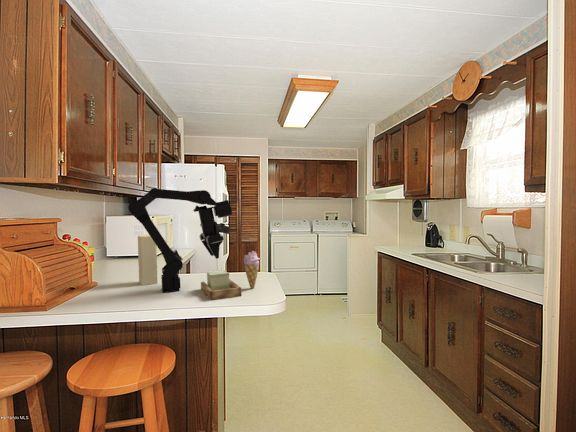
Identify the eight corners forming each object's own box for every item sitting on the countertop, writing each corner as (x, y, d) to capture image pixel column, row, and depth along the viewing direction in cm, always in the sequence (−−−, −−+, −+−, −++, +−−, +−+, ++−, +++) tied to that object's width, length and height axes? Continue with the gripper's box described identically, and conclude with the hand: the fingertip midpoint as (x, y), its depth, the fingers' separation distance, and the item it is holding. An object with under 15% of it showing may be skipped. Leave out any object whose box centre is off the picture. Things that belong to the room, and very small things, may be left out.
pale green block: (211, 290, 133) (210, 275, 133) (207, 286, 140) (206, 271, 140) (229, 288, 136) (229, 273, 136) (225, 284, 143) (224, 270, 142)
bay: (210, 300, 124) (210, 291, 124) (201, 289, 141) (200, 281, 141) (241, 295, 129) (241, 287, 129) (228, 285, 145) (228, 278, 145)
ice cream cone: (263, 287, 142) (262, 250, 141) (257, 290, 136) (256, 252, 135) (248, 286, 144) (247, 249, 143) (241, 289, 138) (240, 252, 137)
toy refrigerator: (159, 283, 153) (157, 235, 152) (141, 285, 149) (139, 236, 149) (156, 280, 160) (154, 234, 159) (139, 282, 156) (137, 235, 155)
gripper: (232, 217, 139) (239, 255, 141) (221, 216, 156) (227, 250, 158) (204, 222, 135) (212, 262, 137) (196, 221, 152) (203, 256, 154)
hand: (214, 257), depth 146 cm, fingers open, 9 cm apart
